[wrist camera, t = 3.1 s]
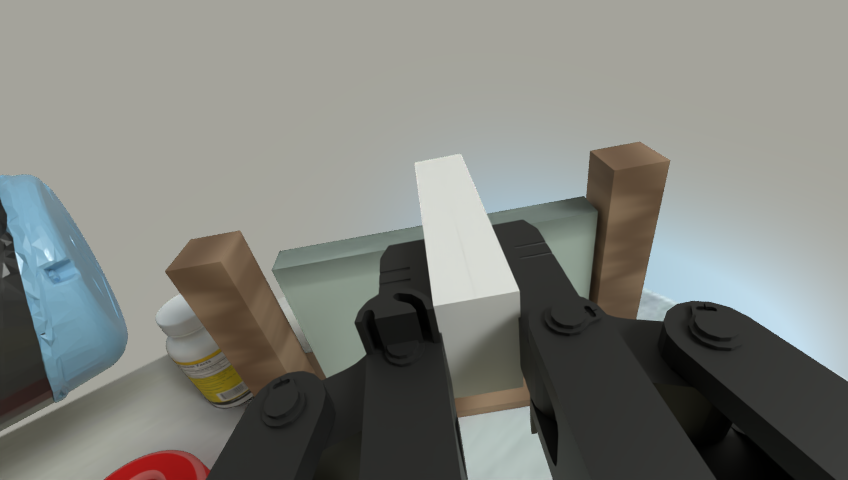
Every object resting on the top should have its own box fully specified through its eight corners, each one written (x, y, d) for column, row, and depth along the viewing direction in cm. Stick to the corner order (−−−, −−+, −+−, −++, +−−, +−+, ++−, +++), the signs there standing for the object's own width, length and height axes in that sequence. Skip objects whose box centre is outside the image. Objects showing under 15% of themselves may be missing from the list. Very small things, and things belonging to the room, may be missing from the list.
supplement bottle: (237, 353, 37) (186, 278, 32) (281, 362, 35) (235, 284, 30) (195, 403, 33) (128, 327, 28) (243, 416, 31) (181, 337, 26)
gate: (330, 386, 30) (271, 270, 23) (334, 365, 31) (279, 251, 25) (583, 344, 29) (598, 211, 22) (573, 325, 31) (583, 196, 24)
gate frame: (283, 446, 28) (159, 277, 19) (303, 359, 35) (219, 203, 26) (645, 386, 28) (702, 179, 18) (595, 309, 34) (619, 128, 25)
